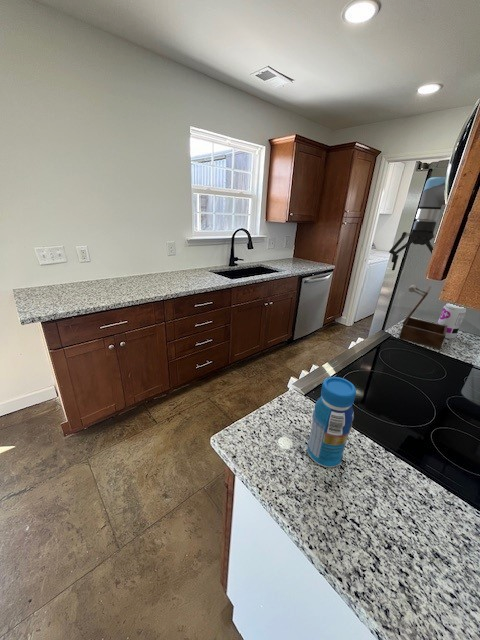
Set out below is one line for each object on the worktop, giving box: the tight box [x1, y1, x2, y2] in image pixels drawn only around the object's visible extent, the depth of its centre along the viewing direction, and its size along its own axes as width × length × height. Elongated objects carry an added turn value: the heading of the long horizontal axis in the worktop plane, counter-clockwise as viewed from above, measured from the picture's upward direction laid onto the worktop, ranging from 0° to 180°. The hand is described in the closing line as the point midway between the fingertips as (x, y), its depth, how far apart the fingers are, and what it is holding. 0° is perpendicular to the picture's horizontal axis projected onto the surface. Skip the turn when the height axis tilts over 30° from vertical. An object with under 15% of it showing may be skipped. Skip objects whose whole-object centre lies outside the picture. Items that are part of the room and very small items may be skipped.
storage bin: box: [398, 316, 447, 351], centre depth 119 cm, size 16×13×7 cm
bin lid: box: [402, 284, 432, 325], centre depth 119 cm, size 16×13×7 cm
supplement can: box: [437, 302, 467, 340], centre depth 122 cm, size 8×8×15 cm
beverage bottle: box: [306, 376, 357, 468], centre depth 59 cm, size 8×8×20 cm
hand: (410, 272), depth 115 cm, fingers open, 13 cm apart
